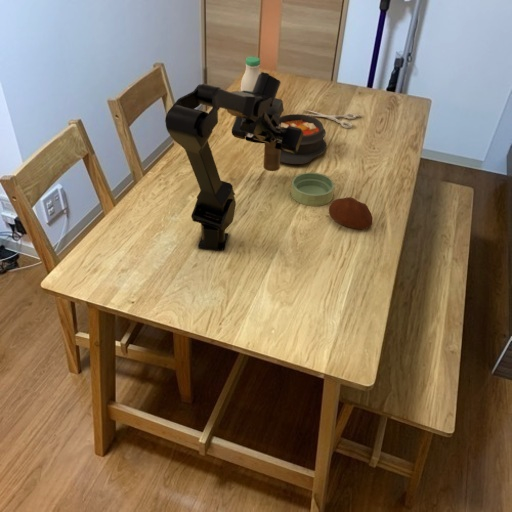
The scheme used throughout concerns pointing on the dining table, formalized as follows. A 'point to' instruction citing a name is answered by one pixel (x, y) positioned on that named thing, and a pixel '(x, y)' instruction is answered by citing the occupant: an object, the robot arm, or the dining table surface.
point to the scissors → (337, 117)
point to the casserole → (304, 138)
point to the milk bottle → (250, 74)
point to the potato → (351, 213)
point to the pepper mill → (272, 156)
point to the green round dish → (312, 189)
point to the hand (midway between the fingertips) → (275, 143)
